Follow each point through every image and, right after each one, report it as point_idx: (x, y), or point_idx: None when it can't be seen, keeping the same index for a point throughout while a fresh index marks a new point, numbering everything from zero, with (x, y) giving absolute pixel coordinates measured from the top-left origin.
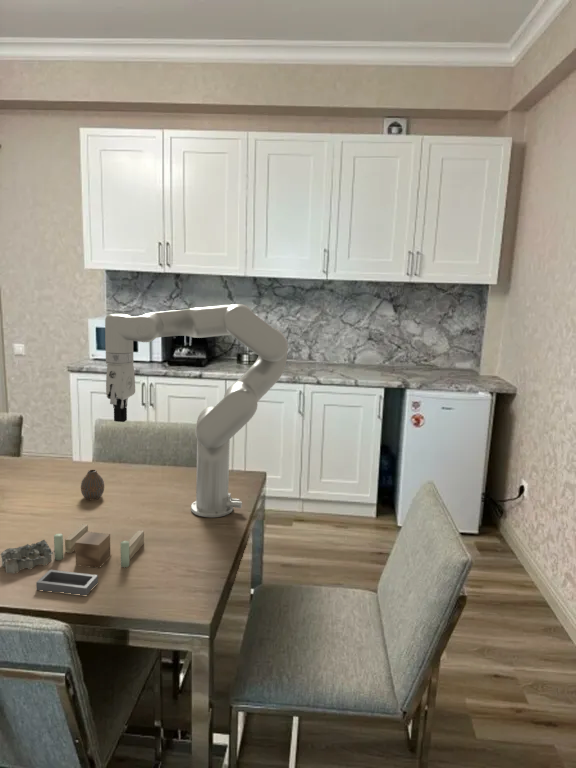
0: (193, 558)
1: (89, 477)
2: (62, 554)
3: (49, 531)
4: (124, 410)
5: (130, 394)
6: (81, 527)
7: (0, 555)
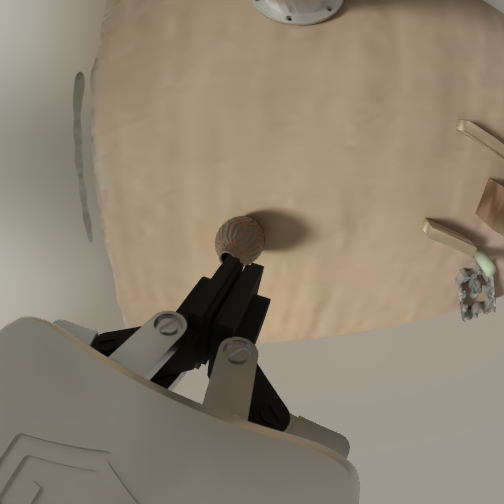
0: (496, 51)
1: (245, 258)
2: (482, 250)
3: (390, 279)
4: (238, 317)
5: (113, 388)
6: (440, 237)
7: (466, 320)
